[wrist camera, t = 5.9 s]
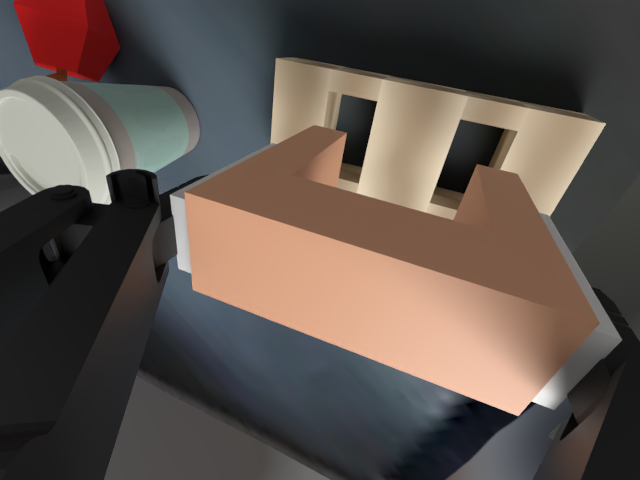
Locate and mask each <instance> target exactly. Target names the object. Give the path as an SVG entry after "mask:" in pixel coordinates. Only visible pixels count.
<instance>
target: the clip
mask: <svg viewBox="0 0 640 480" xmlns="http://www.w3.org/2000/svg"><path fill="white" fill-rule="evenodd" d="M346 136H347V133H346V132H342V131H338V130H333V129H329V128H325V127H321V126H317V125H313V126H311V127H309V128H307V129H305V130H303V131H301V132H299V133H298V134H296V135H294V136H292V137H290V138H288V139H286V140H284V141H282V142H280V143H278V144H276V145H274V146H272V147H270V148H268V149H267V150H265V151H263V152H261V153H259V154H257V155H255V156H253V157H251V158H249V159H247V160H245V161H243V162H241V163H239V164H238V165H236V166H234V167H232V168H230V169H228V170H226V171H224V172H222V173H220V174H218V175H216V176H214V177H212V178H210V179H208V180H207V181H205V182H203V183H201V184H199V185H197V186H195V187H193V188H191V189H189V190H187V191H185V192H184V194H185V206H186V217H187V228H188V240H189V251H190V262H191V274H192V285H193V290H195V291H197V292H200V293H202V294H205V295H207V296H210V297H213V298H215V299H218V300H220V301H223V302H225V303H228V304H231V305H233V306H236V307H238V308H241V309H244V310H246V311H249V312H251V313H254V314H256V315H259V316H262V317H264V318H267V319H269V320H272V321H274V322H277V323H280V324H282V325H285V326H287V327H290V328H293V329H295V330H298V331H300V332H303V333H305V334H308V335H311V336H313V337H316V338H318V339H321V340H323V341H326V342H329V343H331V344H334V345H336V346H339V347H342V348H344V349H347V350H349V351H352V352H354V353H357V354H360V355H362V356H365V357H367V358H370V359H372V360H375V361H378V362H380V363H383V364H385V365H388V366H391V367H393V368H396V369H398V370H401V371H403V372H406V373H409V374H411V375H414V376H416V377H419V378H421V379H424V380H427V381H429V382H432V383H434V384H437V385H439V386H442V387H445V388H447V389H450V390H452V391H455V392H458V393H460V394H463V395H465V396H468V397H470V398H473V399H476V400H478V401H481V402H483V403H486V404H488V405H491V406H494V407H496V408H499V409H501V410H504V411H507V412H509V413H512V414H514V415H517V416H519V415H520V413H521V412H522V411H523V410H524V409H525V408H526V407H527V405H528V404H529V403H530V402H531V401H532V400H533V399H534V398H535V396H536V395H537V394H538V393H539V392H540V391H541V390H542V388H543V387H544V386H545V385H546V384H547V383H548V382H549V381H550V379H551V378H552V377H553V376H554V375H555V374H556V373H557V371H558V370H559V369H560V368H561V367H562V366H563V365H564V363H565V362H566V361H567V360H568V359H569V358H570V357H571V356H572V354H573V353H574V352H575V351H576V350H577V349H578V348H579V346H580V345H581V344H582V343H583V342H584V341H585V340H586V338H587V337H588V336H589V335H590V334H591V333H592V332H593V331H594V329H595V328H596V327H597V326H598V325H599V324H600V322H599V321H598V319H597V317H596V315H595V313H594V312H593V310H592V308H591V306H590V304H589V302H588V301H587V299H586V297H585V295H584V293H583V292H582V290H581V288H580V286H579V284H578V282H577V281H576V279H575V277H574V275H573V273H572V272H571V270H570V268H569V266H568V264H567V262H566V261H565V259H564V257H563V255H562V253H561V252H560V250H559V248H558V246H557V244H556V242H555V241H554V239H553V237H552V235H551V233H550V232H549V230H548V228H547V226H546V224H545V222H544V221H543V219H542V217H541V215H540V213H539V212H538V210H537V208H536V206H535V204H534V202H533V201H532V199H531V197H530V195H529V193H528V192H527V190H526V188H525V186H524V184H523V182H522V181H521V179H520V177H519V175H518V174H516V173H512V172H508V171H504V170H499V169H495V168H491V167H487V166H483V165H479V164H477V165H476V168H475V170H474V172H473V175H472V177H471V179H470V182H469V184H468V187H467V189H466V191H465V194H464V196H463V198H462V201H461V203H460V205H459V208H458V210H457V212H456V215H455V217H454V220H451V219H447V218H443V217H440V216H436V215H433V214H429V213H426V212H422V211H418V210H415V209H411V208H408V207H404V206H401V205H397V204H393V203H390V202H386V201H383V200H379V199H376V198H372V197H368V196H365V195H361V194H358V193H354V192H351V191H347V190H343V189H340V188H337V183H338V178H339V173H340V168H341V162H342V157H343V152H344V146H345V141H346Z"/></svg>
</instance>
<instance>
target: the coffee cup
mask: <svg viewBox="0 0 640 480" xmlns="http://www.w3.org/2000/svg"><path fill="white" fill-rule="evenodd" d="M199 135H200V126H199V120H198V117H197V114H196V112H195V110H194V108H193V106H192V105H191V103H190V102H189V100H188V99H187V98H186V97H185V96H184V95H183V94H182V93H180V92H179V91H177V90H176V89H173V88H171V87H165V86H148V85H128V84H107V83H86V82H64V81H58V80H55V79H53V78H50V77H46V76H31V77H28V78H24V79H20V80H17V81H15V82H14V83H13V84H11V85H10V86H9V87H7V88H4V89H1V90H0V156H1V158H2V159H3V161H4V163H5V164H6V166H7V167H8V169H9V170H10V172H11V173H12V174H13V175H14V177H15V178H16V179H17V180H18V181H19V182H20V184H21V185H22V186H23V187H24V188H25V189H26V190H28V191H29V192H30V193H31V194H32V195H34V194H36V193H38V192H40V191H42V190H44V189H47V188H51V187H55V186H57V185H63V186H64V185H74V186H81V187H85V188H86V189H88V190H89V192H90V196H91V200H92V203H100V204H108V205H109V204H110V203H111V198H110V193H109V189H108V184H107V180H106V175H108V174H110V173H111V172H115V171H118V170H124V169H142V170H147V171H150V172H153V173H154V172H156V171H158V170H159V169H161V168H163V167H164V166H166V165H168V164H169V163H171V162H173V161H174V160H176V159H178V158H179V157H181V156H183V155H184V154H186V153H188V152H189V151H191V150H192V149H193V148H194V147H195V146H196V144H197V142H198V140H199Z"/></svg>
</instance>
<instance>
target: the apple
mask: <svg viewBox="0 0 640 480" xmlns="http://www.w3.org/2000/svg"><path fill="white" fill-rule="evenodd" d="M13 4H14V7H15V10H16V12H17V15H18V18H19V21H20V24H21V26H22V29H23V32H24V35H25V38H26V40H27V43H28V46H29V49H30V52H31V54H32V57H33V60H34V63H35V65H37V66H40V67H43V68H47V69H50V70H53V71H56V72H57V73H56V74H52V75H47V76H46V77H50V78H53V79H55V80H58V81H67V75H69V76H72V77H76V78H81V79H87V80H92V81H97V82H99V80H100V79H101V77H102V75H103V74H104V72H105V71H106V69H107V68H108V66H109V65H110V63H111V62H112V60H113V59H114V57H115V56H116V54H117V53H118V51H119V50H120V45H119V42H118V39H117V36H116V34H115V31H114V28H113V25H112V22H111V20H110V17H109V14H108V11H107V8H106V5H105V3H104V1H103V0H15V1H14V3H13Z"/></svg>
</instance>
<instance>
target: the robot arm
mask: <svg viewBox="0 0 640 480" xmlns="http://www.w3.org/2000/svg"><path fill="white" fill-rule="evenodd" d="M274 145H276V144H274V143H272V144H270V145H268V146H266V147H264V148H262V149H260V150H258V151H256V152H254V153H252V154H250V155H248V156H246V157H244V158H242V159H240V160H238V161H236V162H234V163H232V164H230V165H228V166H226V167H224V168H222V169H220V170H218V171H216V172H214V173H212V174H210V175H205V176H200V177H196V178H194V179H192V180H190V181H188V182H186V183H183V184H181V185H179V187H175V188H173V189H171V190H169V191H167V192H165V193H163V194H161V195H159V191H158V183H157V176H156V175H155V174H154V173H153V172H150V171H147V170H142V169H124V170H118V171H115V172H111V173H110V174H108V175H106V180H107V184H108V189H109V193H110V198H111V203H110V205H108V204H100V203H92V200H91V196H90V192H89V190H88V189H86V188H85V187H81V186H74V185H64V186H63V185H57V186H55V187H51V188H47V189H44V190H42V191H40V192H38V193H36V194H34V195H32V194H31V193H30V192H29V191H28V190H26V189H25V188H24V187H23V186H22V185H21V184H20V182H19V181H18V180H17V179H16V178H15V177H14V175H13V174H12V173H11V172H10V170H9V169H8V167H7V166H6V164H5V163H4V161H3V159H2V158H1V156H0V480H104V477H105V474H106V470H107V467H108V464H109V461H110V458H111V455H112V451H113V448H114V445H115V442H116V439H117V435H118V432H119V429H120V426H121V422H122V419H123V416H124V413H125V410H126V406H127V403H128V400H129V397H130V394H131V391H132V387H133V384H134V381H135V378H136V375H137V371H138V368H139V365H140V362H141V359H142V355H143V352H144V349H145V346H146V343H147V339H148V336H149V333H150V330H151V327H152V323H153V320H154V317H155V314H156V311H157V307H158V304H159V301H160V298H161V295H162V291H163V288H164V285H165V282H166V279H167V275H168V272H169V265H168V260H170V259H171V258H172V257H174V256H175V255H177V261H178V269H181V270H183V271H186V272H189V273H191V262H190V251H189V240H188V228H187V217H186V206H185V194H184V192H185V191H187V190H189V189H191V188H193V187H195V186H197V185H199V184H201V183H203V182H205V181H207V180H208V179H210V178H212V177H214V176H216V175H218V174H220V173H222V172H224V171H226V170H228V169H230V168H232V167H234V166H236V165H238V164H239V163H241V162H243V161H245V160H247V159H249V158H251V157H253V156H255V155H257V154H259V153H261V152H263V151H265V150H267V149H268V148H270V147H272V146H274ZM540 215H541V217H542V219H543V221H544V222H545V224H546V226H547V228H548V230H549V232H550V233H551V235H552V237H553V239H554V241H555V242H556V244H557V246H558V248H559V250H560V252H561V253H562V255H563V257H564V259H565V261H566V262H567V264H568V266H569V268H570V270H571V272H572V273H573V275H574V277H575V279H576V281H577V282H578V284H579V286H580V288H581V290H582V292H583V293H584V295H585V297H586V299H587V301H588V302H589V304H590V306H591V308H592V310H593V312H594V313H595V315H596V317H597V319H598V321H599V322H600V324H599V325H598V326H597V327H596V328H595V329H594V331H593V332H592V333H591V334H590V335H589V336H588V337H587V338H586V340H585V341H584V342H583V343H582V344H581V345H580V346H579V348H578V349H577V350H576V351H575V352H574V353H573V354H572V356H571V357H570V358H569V359H568V360H567V361H566V362H565V363H564V365H563V366H562V367H561V368H560V369H559V370H558V371H557V373H556V374H555V375H554V376H553V377H552V378H551V379H550V381H549V382H548V383H547V384H546V385H545V386H544V387H543V388H542V390H541V391H540V392H539V393H538V394H537V395H536V396H535V398H534V399H533V400H532V402H535V403H537V404H540V405H543V406H545V407H548V408H551V409H553V410H555V409H556V408H557V406H559V405H560V404H561V402H562V401H563V400H564V399H565V398H566V397H567V396H568V399H569V402H570V405H571V408H572V411H573V412H572V413H571V414H570V415H568V416H567V417H566V418H565V419H564V420H563V421H562V422H561V423H560V424H559V425H558V426H557V427H556V428H555V429H554V430H553V431H552V432H551V433H550V434H549V435H548V437H549V438H550V439H551V440H552V439H553V438H554V439H553V441H552V443H551V445H550V447H549V449H548V451H547V453H546V455H545V457H544V459H543V461H542V463H541V465H540V467H539V469H538V471H537V472H536V475H535V476H534V478H533V480H640V341H639V340H638V338H637V337H636V335H635V334H634V332H633V331H632V329H631V328H630V327H628V326H629V324H628V323H627V321H626V320H625V318H624V317H622V314H621V312H620V311H619V309H618V307H617V306H616V304H615V303H614V302H613V301H612V300H611V299H610V298H609V297H608V296H606V295H605V294H604V293H603V292H602V291H601V290H600V289H596V288H593V287H591V286H590V285H589V283H588V281H587V280H586V278H585V276H584V275H583V273H582V271H581V270H580V268H579V266H578V265H577V263H576V261H575V259H574V258H573V256H572V254H571V253H570V251H569V249H568V248H567V246H566V244H565V243H564V241H563V239H562V237H561V236H560V234H559V232H558V231H557V229H556V227H555V226H554V224H553V222H552V221H551V219H550V217H549V216H548V215H546V214H543V213H540ZM48 241H50V243H51V245H52V248H53V251H54V253H55V255H54V256H53V257H51V258H50V259H47V258H46V257H45V255H44V252H43V250H42V247H43V246H44V245H45V244H46V243H47V242H48Z"/></svg>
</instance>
